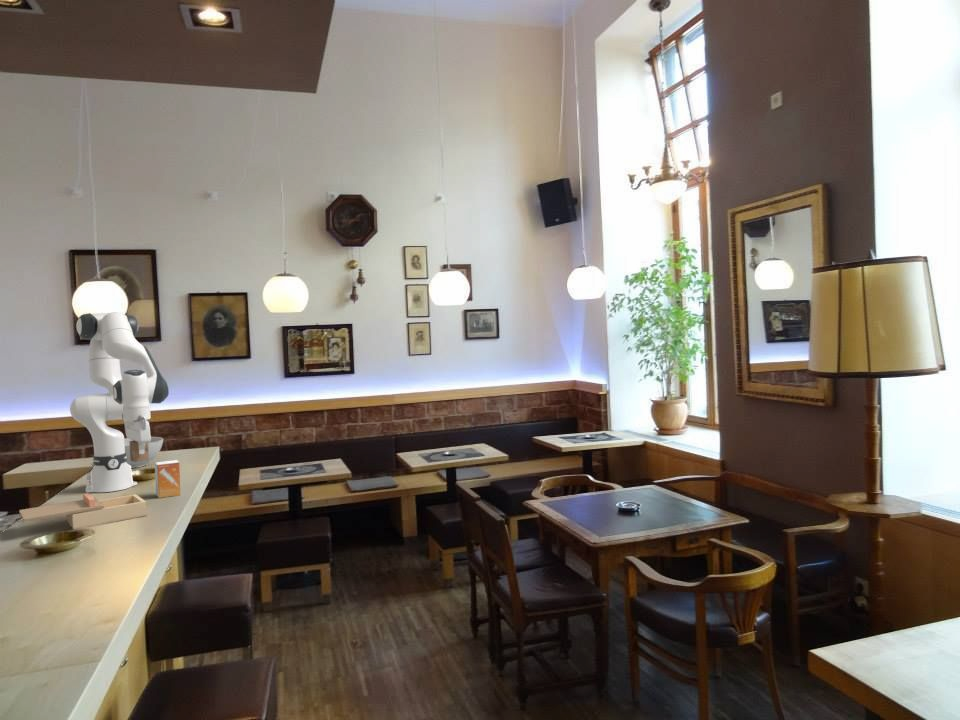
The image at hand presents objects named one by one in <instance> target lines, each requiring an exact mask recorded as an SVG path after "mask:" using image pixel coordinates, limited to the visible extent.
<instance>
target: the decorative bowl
mask: <svg viewBox="0 0 960 720" xmlns="http://www.w3.org/2000/svg"><path fill="white" fill-rule="evenodd" d="M129 441H132V440H131V439H128V438H127V437H124V443H125V452H126V455H127V461H126V462H127V464H129V465H130V466H131V468H134V469H136V468H135V467H139V466H143V465H147V464H148V465H149V463H151V461H153V460H154V459H155V458H156V457H157V456H158V454H159V453H160V452H161V449H162V447H163V443H164V438H163V437H161V436H151V440H150V442H148V451H149V460H145V461H138V462H133V461H131V460H130V444H129ZM148 465H147V466H148Z"/></svg>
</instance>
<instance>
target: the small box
mask: <svg viewBox="0 0 960 720" xmlns="http://www.w3.org/2000/svg"><path fill="white" fill-rule="evenodd" d="M180 466H181V464H180V461H179V460H178V459H174V460H165V461H158V462H157V461H155V462H154V474H155V475H154V477H155V478H154V479H155V494H156V496H158V497H157V498H158V499H161V498H167V497H168V498H170V497H175V496H181V495H182V490H181V489H182V488H181V487H182V486H181V467H180ZM169 496H170V497H169Z"/></svg>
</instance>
